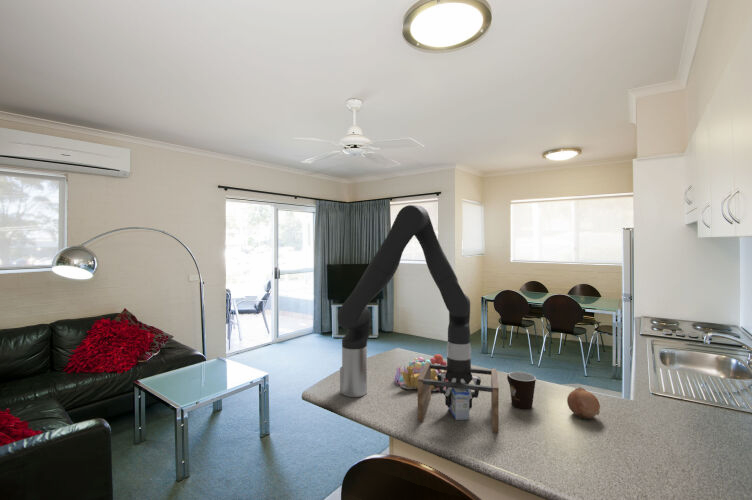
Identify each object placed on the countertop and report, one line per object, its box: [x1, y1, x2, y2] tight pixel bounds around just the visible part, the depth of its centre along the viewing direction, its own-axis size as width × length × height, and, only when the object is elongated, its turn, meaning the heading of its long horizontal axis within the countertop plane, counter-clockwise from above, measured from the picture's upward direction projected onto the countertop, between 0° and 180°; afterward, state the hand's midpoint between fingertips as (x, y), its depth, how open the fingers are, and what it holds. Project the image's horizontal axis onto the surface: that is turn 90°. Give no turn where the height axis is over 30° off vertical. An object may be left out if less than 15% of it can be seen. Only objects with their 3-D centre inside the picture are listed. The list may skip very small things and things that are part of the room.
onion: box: [566, 386, 601, 420], centre depth 112 cm, size 9×9×10 cm
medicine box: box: [448, 388, 470, 421], centre depth 114 cm, size 8×4×9 cm, turn 5°
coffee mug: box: [506, 371, 537, 411], centre depth 121 cm, size 12×9×10 cm
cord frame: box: [417, 362, 500, 433], centre depth 114 cm, size 24×17×13 cm
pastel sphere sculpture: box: [394, 353, 449, 392], centre depth 142 cm, size 25×24×9 cm
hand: (458, 407), depth 114 cm, fingers closed on medicine box, 5 cm apart
